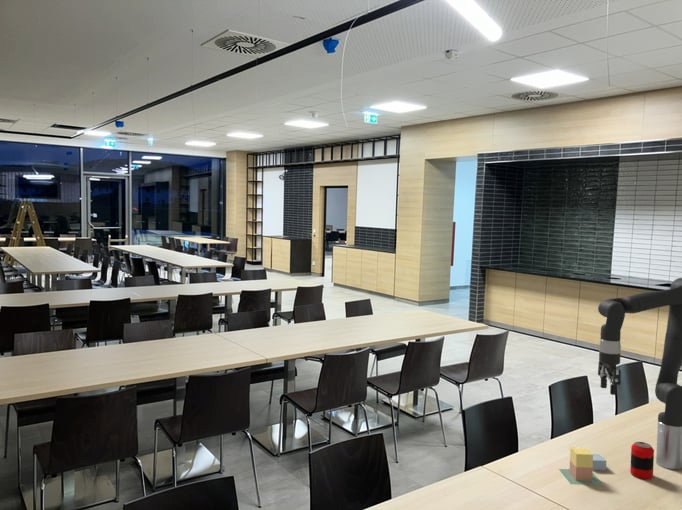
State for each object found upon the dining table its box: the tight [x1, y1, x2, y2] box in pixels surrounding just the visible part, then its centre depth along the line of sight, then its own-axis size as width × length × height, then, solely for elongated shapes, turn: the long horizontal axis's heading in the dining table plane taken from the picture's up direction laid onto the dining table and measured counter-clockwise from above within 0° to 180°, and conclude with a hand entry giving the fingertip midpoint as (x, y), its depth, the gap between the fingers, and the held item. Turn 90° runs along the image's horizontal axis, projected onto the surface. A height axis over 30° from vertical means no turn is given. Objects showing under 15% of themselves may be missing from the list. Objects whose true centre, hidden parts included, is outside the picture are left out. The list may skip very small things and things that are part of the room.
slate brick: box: [592, 453, 607, 471], centre depth 208 cm, size 6×6×5 cm
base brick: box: [569, 460, 594, 481], centre depth 199 cm, size 6×6×5 cm
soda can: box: [629, 441, 655, 480], centre depth 203 cm, size 8×8×12 cm
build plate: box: [558, 468, 605, 486], centre depth 199 cm, size 12×12×1 cm
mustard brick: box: [569, 446, 594, 468], centre depth 199 cm, size 6×6×5 cm
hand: (608, 391), depth 210 cm, fingers open, 8 cm apart
